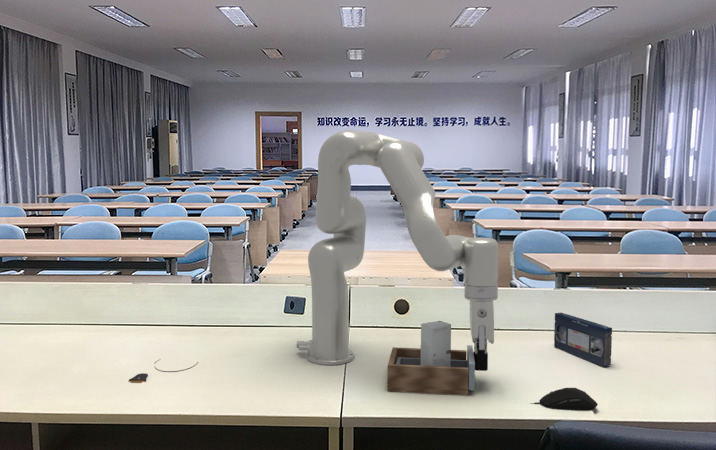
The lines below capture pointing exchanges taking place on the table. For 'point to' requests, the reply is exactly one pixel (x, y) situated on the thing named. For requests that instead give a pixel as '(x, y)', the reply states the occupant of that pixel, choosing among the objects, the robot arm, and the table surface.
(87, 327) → the table surface
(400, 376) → the housing
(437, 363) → the skincare box
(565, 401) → the gaming mouse
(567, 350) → the vhs cassette tape
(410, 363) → the tray
